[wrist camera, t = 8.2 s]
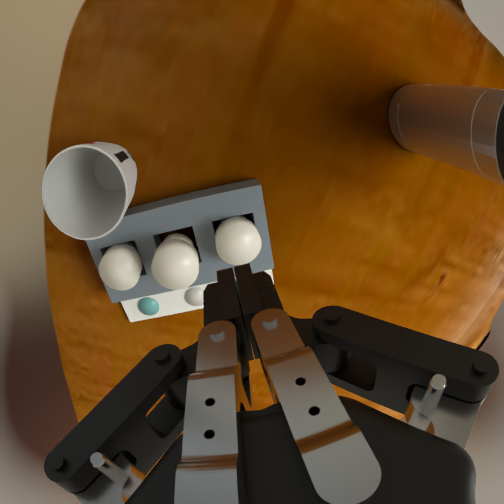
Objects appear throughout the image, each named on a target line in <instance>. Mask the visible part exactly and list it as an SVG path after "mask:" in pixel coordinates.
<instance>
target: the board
mask: <svg viewBox="0 0 504 504" xmlns="http://www.w3.org/2000/svg"><path fill="white" fill-rule="evenodd" d="M249 213H251V218H252V223H253V224H254V225H255V226H256V228H257V230H258V233H259V235H260V237H261V249H260V252H259V254H258V255H257V256H256V258H255V259H253V260H252V261H251V262H249V263H250V267H251V270H252V273H256V272H261V271H265V270H269V269H274V263H273V257H272V250H271V244H270V238H269V231H268V225H267V219H266V212H265V206H264V200H263V194H262V188H261V184H260V183H259V181H258V180H257V179H250V180H245V181H241V182H236V183H231V184H226V185H222V186H217V187H212V188H208V189H204V190H199V191H195V192H191V193H186V194H182V195H178V196H174V197H170V198H166V199H162V200H158V201H154V202H150V203H146V204H142V205H139V206H135V207H131V208H128V209H127V210H126V212H125V214H124V216H123V218H122V220H121V222H120V223H119V225H118V226H117V227H116V228H115V229H114V230H113V231H112V232H110V233H109V234H107V235H106V236H104V237H101V238H98V239H94V240H86V243H87V245H88V248H89V250H90V253H91V255H92V258H93V260H94V263H95V265H96V267H97V270H98V272H99V264H100V261H101V259H102V258H103V256H104V254H105V252H106V251H107V250H108V249H109V248H110V246H112V245H116V244H120V243H124V242H128V241H132V240H135V242H136V245H137V248H138V251H139V254H140V257H141V259H142V262H143V264H142V270H141V273H140V277H139V280H138V282H137V284H136V285H135V286H134V287H133V288H131V289H129V290H124V291H120V290H115V289H112V288H110V287H109V286H107V285H106V284H105V283H104V282H103V284H104V286H105V288H106V290H107V292H108V295H109V297H110V299H111V301H112V303H116V302H121V301H126V300H131V299H136V298H141V297H145V296H150V295H155V294H160V293H165V292H169V291H174V290H172V289H168V288H165V287H163V286H161V285H160V284H159V283H158V282H157V281H156V280H155V279H154V277H153V275H152V271H151V265H152V260H153V257H154V253H155V251H156V249H157V247H158V246H159V245H160V244H161V243H162V242H161V239H160V236H159V234H160V233H165V232H169V231H173V230H177V229H182V228H186V227H190V226H192V227H193V231H194V235H195V238H196V242H197V246H198V249H199V251H197V253H198V257H199V273H198V276H197V278H196V280H195V281H194V283H193V284H192V285H190V286H189V287H193V286H197V285H202V284H207V283H211V282H216V281H217V271H218V270H222V269H227V268H231V267H232V268H233V271H234V267H235V266H239V265H231V264H228V263H226V262H225V261H223V260H222V259H221V258H220V257H219V255H218V253H217V250H216V243H215V233H216V232H215V228H214V224H213V221H217V220H221V219H226V218H230V217H235V216H239V215H244V214H249ZM234 275H235V271H234ZM102 281H103V280H102ZM187 288H188V287H187Z"/></svg>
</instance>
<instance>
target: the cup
mask: <svg viewBox="0 0 504 504" xmlns="http://www.w3.org/2000/svg"><path fill="white" fill-rule="evenodd" d="M136 180H137V167H136V164H135V161H134V159H133V157H132V156H131V154H130V153H129V152H128V151H127V150H126V149H125V148H123V147H122V146H120V145H117V144H113V143H107V142H90V143H85V144H80V145H75V146H71V147H69V148H66V149H64V150H63V151H61V152H60V153H58V154H57V155H56V156H55V157H54V158H53V159H52V160H51V162H50V163H49V165H48V167H47V168H46V171H45V173H44V176H43V180H42V200H43V205H44V208H45V210H46V213H47V215H48V216H49V218H50V220H51V221H52V222H53V224H54V225H55V226H56V227H57V228H58V229H59V230H60V231H62V232H63V233H65V234H66V235H68V236H70V237H73V238H76V239H80V240H94V239H98V238H101V237H104V236H106V235H107V234H109V233H110V232H112V231H113V230H114V229H115V228H116V227H117V226H118V225H119V223H120V222H121V220H122V218H123V216H124V214H125V212H126V210H127V208H128V206H129V204H130V202H131V200H132V198H133V195H134V191H135V186H136Z"/></svg>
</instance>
